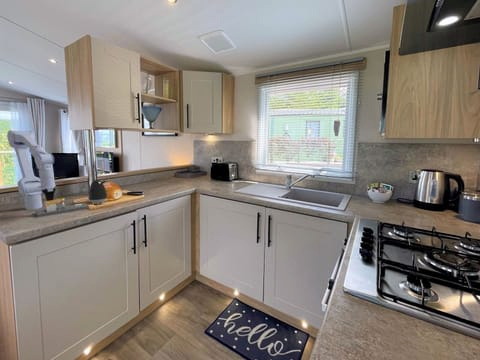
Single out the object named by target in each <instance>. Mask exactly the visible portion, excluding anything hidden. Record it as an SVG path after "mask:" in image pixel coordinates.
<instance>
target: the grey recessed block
mask: <svg viewBox="0 0 480 360" xmlns="http://www.w3.org/2000/svg"><path fill="white" fill-rule="evenodd" d="M59 204H60V206H56V209H57V211H50V212H46V208H44V209H43V208H42V209H35V214H36V217H37V218H41V217H42V218H43V217H47V216H48V217H49V216H53V215H60V214H65V213H66V214H67V213H71V212H77V211H83V210H89V207H90V206H89V205H88V204H87V203H85V202H82V203H76V204H69V205H65V201H64V202H59Z"/></svg>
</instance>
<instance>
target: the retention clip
mask: <svg viewBox="0 0 480 360" xmlns="http://www.w3.org/2000/svg"><path fill="white" fill-rule="evenodd" d="M60 202H64V203H65V202H66V200H65V198H64V197H63V198H61V197H60V198H56V199H53V200H51V201H47V200H46V201H43V206H44V205H48V204H53V203H56V204H57V203H59V204H60Z"/></svg>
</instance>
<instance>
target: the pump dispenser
mask: <svg viewBox="0 0 480 360" xmlns="http://www.w3.org/2000/svg"><path fill="white" fill-rule="evenodd" d="M104 184H107V181H106V180H103V181H102V180H101V179H94V180H93V181H91V184H90V185H89V189H88V195H87V196H88V197H87V198H88V200H89V203H91V204H92V203H94V204H93V205H96V204H97V205H99V204H98V203H103V202H104V203H106V202H105V201H107V200H106V199H108V197H107V196H108V192H107V188H106V186H105V185H104ZM104 203H103V204H104Z"/></svg>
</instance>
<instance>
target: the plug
mask: <svg viewBox="0 0 480 360" xmlns="http://www.w3.org/2000/svg"><path fill="white" fill-rule="evenodd" d="M56 207H57V203H53V204H48V205H45V209H46V212H50V211H57V209H56Z"/></svg>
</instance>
